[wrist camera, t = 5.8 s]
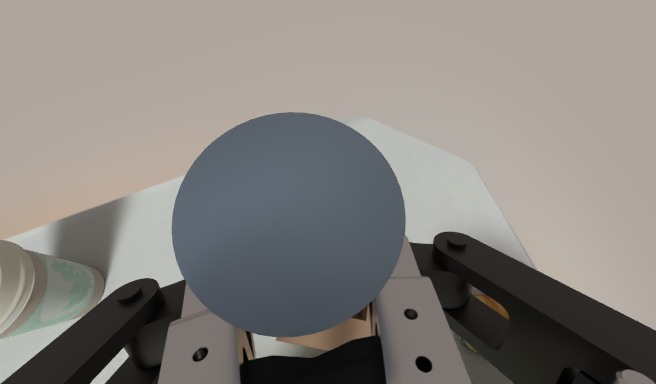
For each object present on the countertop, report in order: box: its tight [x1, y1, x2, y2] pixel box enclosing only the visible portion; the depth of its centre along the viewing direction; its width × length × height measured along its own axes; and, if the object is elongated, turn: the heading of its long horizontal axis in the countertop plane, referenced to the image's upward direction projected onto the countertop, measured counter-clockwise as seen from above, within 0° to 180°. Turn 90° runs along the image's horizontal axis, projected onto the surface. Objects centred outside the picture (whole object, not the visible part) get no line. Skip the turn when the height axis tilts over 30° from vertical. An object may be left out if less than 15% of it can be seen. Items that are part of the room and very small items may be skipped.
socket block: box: [276, 305, 371, 351], centre depth 30 cm, size 12×12×5 cm
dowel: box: [172, 112, 405, 337], centre depth 11 cm, size 4×4×14 cm
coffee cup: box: [0, 240, 105, 339], centre depth 24 cm, size 9×9×12 cm
